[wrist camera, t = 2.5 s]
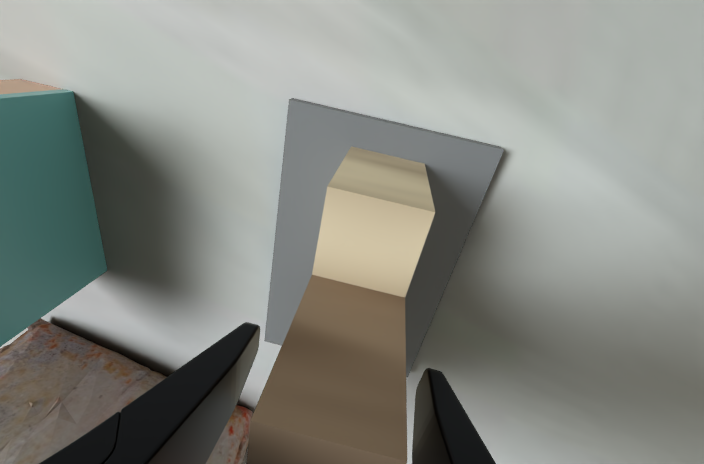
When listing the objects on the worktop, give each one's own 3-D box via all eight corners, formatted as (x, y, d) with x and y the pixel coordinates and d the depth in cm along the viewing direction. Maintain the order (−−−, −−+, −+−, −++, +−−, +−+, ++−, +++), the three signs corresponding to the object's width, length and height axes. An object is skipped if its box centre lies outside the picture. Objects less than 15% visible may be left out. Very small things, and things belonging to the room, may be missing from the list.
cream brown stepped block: (365, 350, 15) (334, 601, 8) (313, 337, 15) (236, 574, 8) (424, 163, 11) (465, 349, 4) (351, 146, 11) (260, 298, 4)
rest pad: (407, 370, 16) (407, 377, 16) (267, 334, 16) (264, 341, 16) (500, 146, 11) (504, 149, 10) (292, 98, 11) (289, 99, 11)
